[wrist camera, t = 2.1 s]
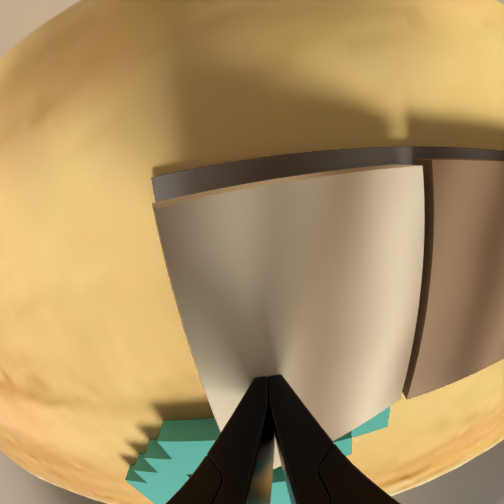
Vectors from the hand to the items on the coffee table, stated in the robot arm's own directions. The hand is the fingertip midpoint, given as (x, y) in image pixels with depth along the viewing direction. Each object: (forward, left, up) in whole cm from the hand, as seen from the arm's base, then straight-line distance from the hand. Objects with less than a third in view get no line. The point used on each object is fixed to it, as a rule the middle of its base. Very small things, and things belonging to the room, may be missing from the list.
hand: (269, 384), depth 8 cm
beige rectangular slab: (-2, 0, -3) cm, 3 cm away
